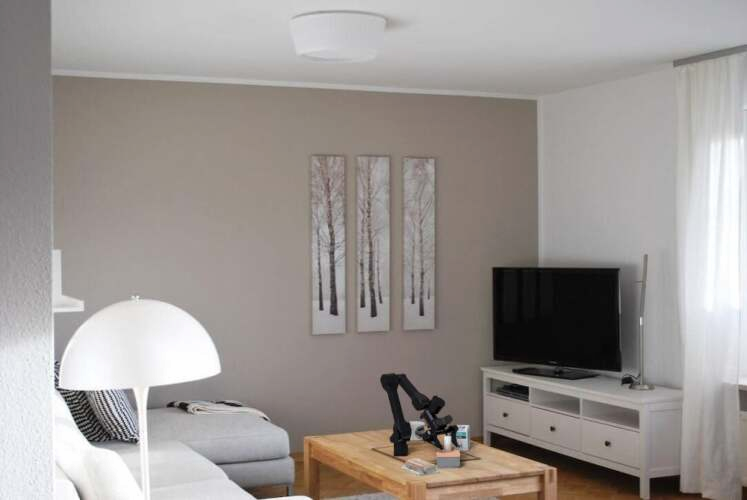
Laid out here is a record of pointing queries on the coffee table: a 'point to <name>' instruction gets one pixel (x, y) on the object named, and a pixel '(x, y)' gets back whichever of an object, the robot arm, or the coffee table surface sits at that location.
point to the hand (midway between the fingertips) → (450, 448)
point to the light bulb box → (463, 437)
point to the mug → (417, 430)
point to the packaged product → (420, 467)
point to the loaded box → (448, 462)
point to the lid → (448, 449)
